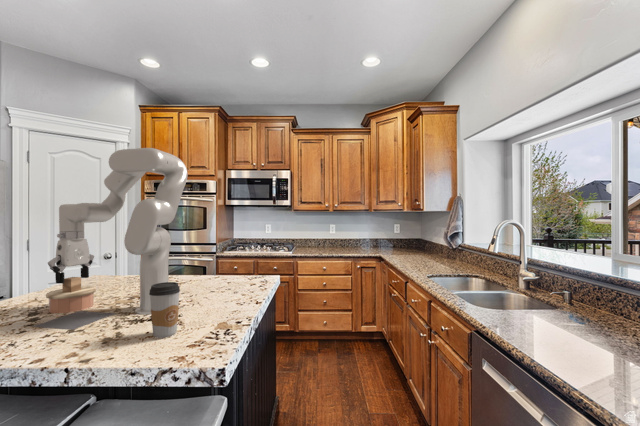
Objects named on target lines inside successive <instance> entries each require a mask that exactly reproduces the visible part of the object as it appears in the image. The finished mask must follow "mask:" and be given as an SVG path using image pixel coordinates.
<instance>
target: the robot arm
mask: <svg viewBox="0 0 640 426" xmlns="http://www.w3.org/2000/svg"><path fill="white" fill-rule="evenodd" d="M108 167H109V168H110V169H111V170H112V171H111V172H110V173H109V174H108V175H107V176H106V177H105V178H104V180H103V184H104V186H105V187H106V188H107V190H109V191H110V192H109V194H108V196H107V197H106V198H104V200H103V201H102V202H101V203H98V202H97V203H96V202H79V203H65V204H63V203H62V204H60V205H59V207H58V224H59V225H58V226H59V227H58V228H59V229H58V230H59V231H58V233H57V234H56V236H57V238H59V240H58V241H57V244H56V248H55V249H56V250H55V257H54V258H52V259H50V260H48V262H47V265H48V267H49V269H50V270H51V271H52V272H53V273H55V284H62V283H64V282H65V281H64V279H65V272H64V271H65V269H66V267H74V266H75V267H76V266H81V267H80V277H81V279H88V278H89V277H90V276H89V273H90V271H89V269H90V267H91V265H92V264H93V262H94V259H95V255H93V254H91V253H90V249H89V248H90V247H89V243H88V240H87V238H85V224H87V223H104V222H108V221H110V220H111V219H113V218H114V217H115V216H116V215H117V214H118V213H119V212H120V211H121V210H122V208H123V207H124V204H125V202H126V194H127V193H128V192H129V191H130V190H131V189H132V188H133V187H134V186H135V185H136V183H137V182H139V181H140V180H141V178H142V177H143V176H145V174H146V173H153V174H157V175H163V176H164V178H163V179H162V180H161V182H160V183H159V184H158V186H157V189H156V193H155V195H154V198H146V199H142V200H141V201H139V202H138V203H137V204H136V205H135V207H134V208H133V210H132V213H131V216H130V219H129V223H128V225H127V229H126V232H125V234H124V242H123V243H124V247H125V250H126V251H127V252H128V253H129V254H131V255H134V256H139V255H140V256H141V258H140V262H139V307H136V308H135V310H134V313H135V314H137V315H145V316H146V315H151V301H150V295H149V293H150V289H151V286H152V285H154V284H158V283H164V282H169V258H170V250H171V249H170V248H171V242H172V239H171V234H170V232H169V231H168V230H166V229H165V228H164V227H160V226H165V225H169V224H171V223H172V222H173V221H174V219H175V217H176V214H177V212H178V209H179V208H178V207H179V204H180V202H181V199H182V195H183V192H184V189H185V186H186V183H187V181H188V175H189V174H188V168H187V166H186V164H185V162H183V161H182V159H180V157H178V156H177V155H174V154H172V153H169V152H166V151H164V150H160V149H158V148H155V147H142V148H141V147H140V148H139V147H138V148H126V149H125V148H124V149H123V148H122V149H118V150H116V151H114V152H112V153H111V155H110V156H109V158H108Z"/></svg>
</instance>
